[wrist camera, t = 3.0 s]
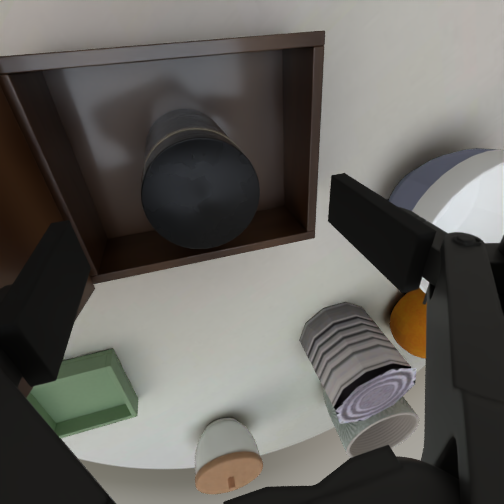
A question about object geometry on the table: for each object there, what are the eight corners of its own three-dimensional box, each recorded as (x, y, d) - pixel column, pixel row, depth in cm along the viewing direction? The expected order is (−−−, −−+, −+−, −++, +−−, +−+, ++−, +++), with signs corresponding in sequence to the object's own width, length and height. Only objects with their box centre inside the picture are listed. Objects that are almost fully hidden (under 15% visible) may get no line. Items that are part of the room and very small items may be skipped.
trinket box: (224, 448, 58) (234, 508, 50) (177, 439, 52) (181, 505, 45) (262, 416, 55) (279, 474, 48) (218, 403, 50) (230, 466, 42)
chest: (287, 36, 25) (325, 30, 20) (288, 208, 34) (315, 238, 28) (27, 57, 22) (-17, 57, 16) (103, 243, 30) (91, 285, 25)
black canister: (156, 195, 28) (157, 259, 19) (134, 113, 24) (123, 146, 15) (231, 183, 30) (263, 238, 21) (221, 102, 26) (257, 127, 17)
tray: (54, 422, 42) (49, 441, 40) (13, 373, 36) (4, 392, 34) (138, 399, 44) (137, 416, 42) (112, 348, 38) (110, 365, 36)
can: (358, 289, 44) (416, 355, 34) (372, 332, 50) (424, 398, 41) (288, 326, 44) (326, 403, 34) (311, 365, 51) (348, 438, 41)
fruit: (421, 263, 44) (480, 310, 36) (457, 289, 50) (515, 334, 42) (366, 319, 48) (409, 373, 40) (406, 337, 54) (450, 387, 46)
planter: (313, 405, 58) (342, 468, 49) (318, 363, 51) (353, 428, 42) (371, 388, 60) (408, 445, 52) (383, 346, 54) (429, 404, 45)
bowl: (383, 130, 32) (457, 155, 24) (498, 134, 36) (594, 155, 28) (347, 258, 40) (393, 307, 32) (444, 249, 44) (506, 290, 36)
